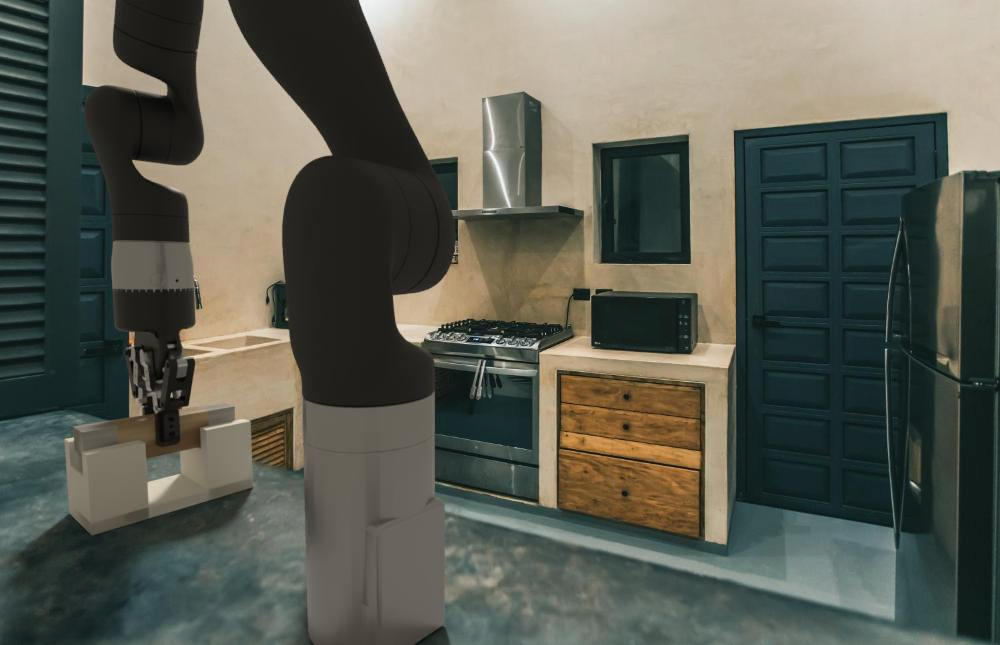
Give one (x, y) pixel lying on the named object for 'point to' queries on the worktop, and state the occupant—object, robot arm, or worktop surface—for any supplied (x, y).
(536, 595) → the worktop surface
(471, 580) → the worktop surface
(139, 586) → the worktop surface
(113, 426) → the rail
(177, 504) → the white notched block
